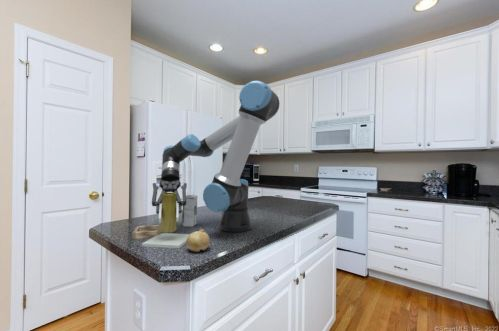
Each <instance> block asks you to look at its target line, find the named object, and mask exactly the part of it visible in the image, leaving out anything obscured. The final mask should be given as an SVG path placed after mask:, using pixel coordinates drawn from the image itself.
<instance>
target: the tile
mask: <svg viewBox="0 0 499 331" xmlns="http://www.w3.org/2000/svg"><path fill="white" fill-rule="evenodd" d="M190 234H191V233H189V234H188V233H174V232H162V233H161V235H157V236H155V237H153V238H148V239H147V240H146V241H144V242H142V243H141V247H145V248H146V247H147V248H148V247H149V248H150V247H151V248H163V249H164V248H165V249H180V248H181V247H183V246H184V245H186V244H187V243H186V240H187V238H188V236H189V235H190Z"/></svg>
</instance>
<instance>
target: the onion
mask: <svg viewBox="0 0 499 331" xmlns="http://www.w3.org/2000/svg"><path fill="white" fill-rule="evenodd" d="M189 234H190V235H189V236H188V238H187V240H186V243H185V244H186V246H187V249H188V250H189V251H191V252H195V253H199V252H201V251H205V250H207V248H208V247H209V245H210V243H211V239H210V236H209V234H208V233H207V232H206V231H205V229H202V228H201V227H200V228H199V230H197V231H196V230H195V231H192V233H189Z"/></svg>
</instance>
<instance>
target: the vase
mask: <svg viewBox="0 0 499 331" xmlns="http://www.w3.org/2000/svg"><path fill="white" fill-rule="evenodd" d="M176 195H177V194H176V193H173V192H167V193H162V203H161V204H162V216H161V222H160V225H161V229H160V231H161V232H162V233H174V232H176V231H177V230H178V226H177V225H178V223H177V222H176V207H177V201H176Z"/></svg>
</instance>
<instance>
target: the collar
mask: <svg viewBox="0 0 499 331" xmlns="http://www.w3.org/2000/svg"><path fill="white" fill-rule="evenodd" d="M160 229H161V224H158V225H155V224H154V225H138V226H136V227H135V228H134V230H133V231H132V233H131V234H132V236H131V237H132V240H140V239H151V238H153V237H155V236H157V235H161V233H163V232H161V231H160Z"/></svg>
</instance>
